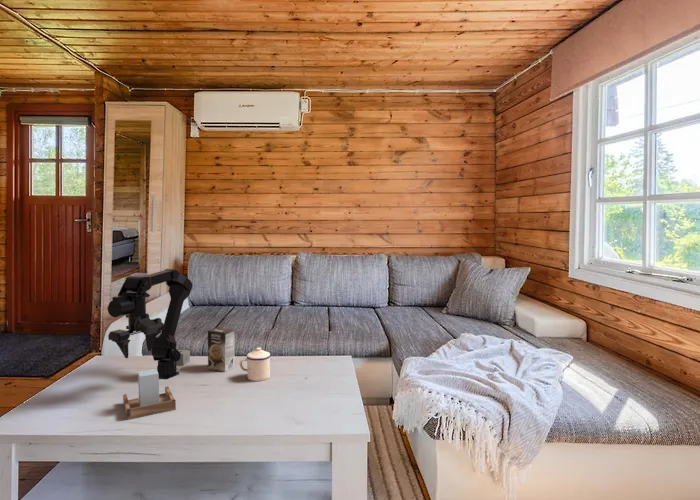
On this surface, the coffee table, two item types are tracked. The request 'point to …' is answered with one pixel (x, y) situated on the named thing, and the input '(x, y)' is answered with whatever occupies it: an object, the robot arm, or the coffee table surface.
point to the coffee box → (220, 349)
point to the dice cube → (183, 357)
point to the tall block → (148, 387)
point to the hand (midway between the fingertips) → (138, 354)
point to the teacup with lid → (257, 365)
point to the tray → (137, 411)
